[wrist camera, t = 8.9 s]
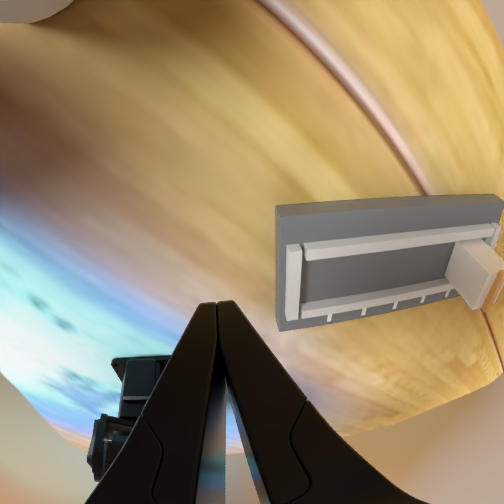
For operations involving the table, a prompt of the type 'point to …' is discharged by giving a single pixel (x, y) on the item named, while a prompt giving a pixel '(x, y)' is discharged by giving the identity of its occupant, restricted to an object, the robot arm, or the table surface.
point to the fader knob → (476, 273)
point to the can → (29, 10)
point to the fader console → (372, 254)
